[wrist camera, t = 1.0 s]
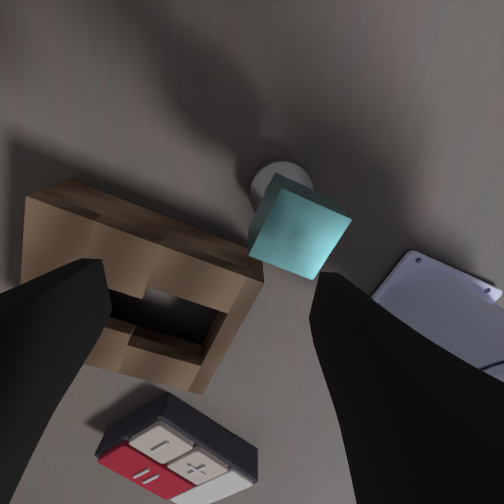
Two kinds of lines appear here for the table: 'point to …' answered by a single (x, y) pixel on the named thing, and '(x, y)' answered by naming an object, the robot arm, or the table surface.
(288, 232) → the peg
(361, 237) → the table surface
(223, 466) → the calculator
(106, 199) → the keyhole plate
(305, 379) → the table surface
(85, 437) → the table surface
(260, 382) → the table surface
